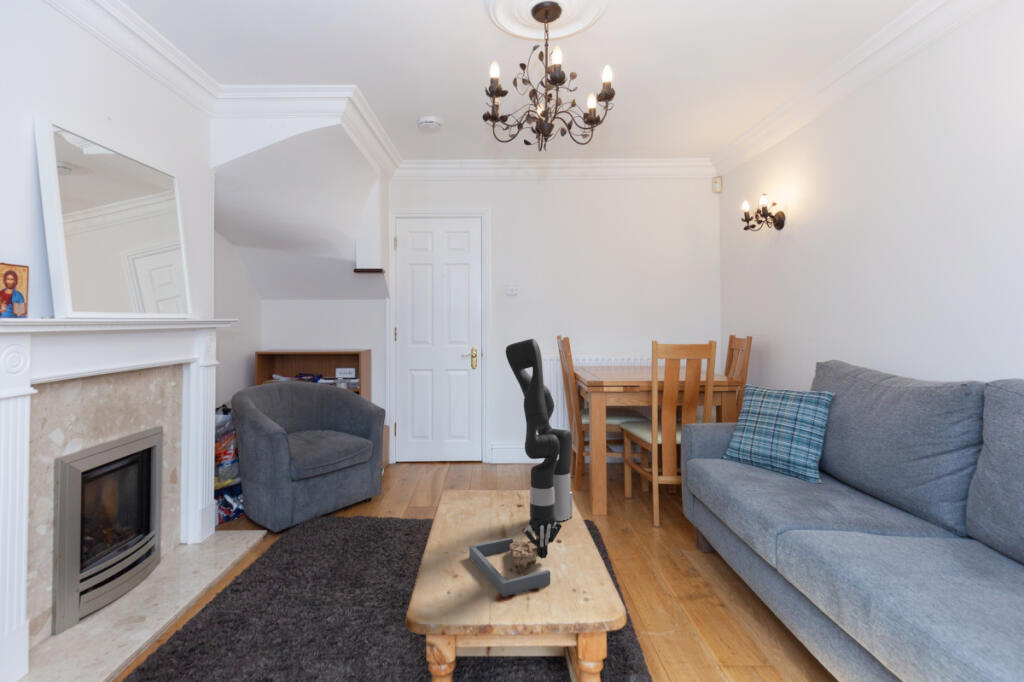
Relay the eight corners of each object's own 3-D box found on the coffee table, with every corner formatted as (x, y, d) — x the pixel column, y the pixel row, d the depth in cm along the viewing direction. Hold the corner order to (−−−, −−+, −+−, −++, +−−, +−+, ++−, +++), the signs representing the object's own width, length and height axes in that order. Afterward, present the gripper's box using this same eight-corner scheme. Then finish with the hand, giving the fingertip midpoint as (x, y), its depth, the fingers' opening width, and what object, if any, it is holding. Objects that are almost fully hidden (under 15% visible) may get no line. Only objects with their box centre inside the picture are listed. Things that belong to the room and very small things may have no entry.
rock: (548, 565, 139) (515, 559, 137) (544, 582, 139) (511, 576, 138) (539, 537, 155) (509, 532, 154) (535, 552, 155) (506, 547, 154)
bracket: (511, 548, 156) (511, 537, 156) (550, 584, 133) (550, 571, 133) (469, 557, 149) (469, 546, 149) (503, 596, 127) (503, 583, 127)
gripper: (554, 493, 152) (554, 548, 152) (517, 500, 146) (517, 556, 146) (567, 500, 145) (567, 557, 145) (529, 507, 139) (529, 567, 140)
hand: (542, 557), depth 146 cm, fingers closed
